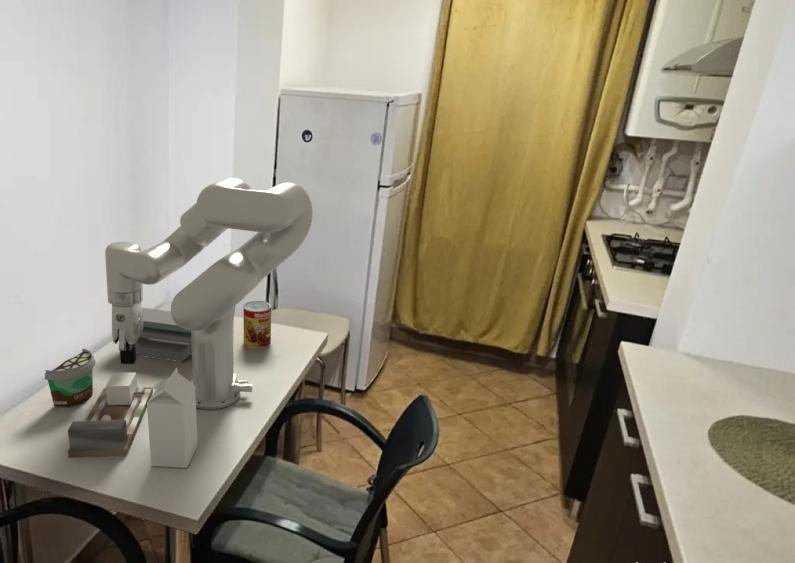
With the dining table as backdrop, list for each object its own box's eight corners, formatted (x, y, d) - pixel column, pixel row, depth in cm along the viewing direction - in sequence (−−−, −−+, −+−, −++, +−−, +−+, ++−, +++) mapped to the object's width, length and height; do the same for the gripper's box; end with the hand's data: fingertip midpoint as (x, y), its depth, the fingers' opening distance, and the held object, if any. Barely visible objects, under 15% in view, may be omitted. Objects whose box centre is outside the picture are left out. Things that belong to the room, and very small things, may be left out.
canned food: (261, 351, 162) (262, 313, 158) (238, 345, 164) (237, 307, 160) (275, 340, 169) (276, 304, 165) (252, 334, 171) (252, 298, 167)
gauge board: (104, 393, 135) (102, 369, 132) (153, 392, 137) (151, 369, 135) (68, 457, 113) (64, 430, 110) (127, 455, 115) (124, 428, 113)
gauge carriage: (115, 389, 133) (113, 371, 132) (148, 389, 135) (146, 371, 133) (107, 405, 127) (105, 386, 125) (141, 404, 129) (140, 385, 127)
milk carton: (197, 446, 119) (194, 368, 113) (186, 468, 113) (183, 387, 106) (163, 444, 119) (159, 366, 112) (151, 466, 112) (145, 384, 106)
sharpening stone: (216, 352, 159) (216, 317, 155) (205, 365, 151) (204, 328, 148) (132, 340, 160) (130, 306, 157) (117, 353, 153) (113, 316, 149)
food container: (72, 415, 126) (68, 376, 122) (49, 409, 127) (43, 371, 123) (110, 388, 137) (106, 351, 134) (88, 383, 138) (84, 347, 135)
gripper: (134, 307, 126) (137, 378, 132) (149, 283, 139) (151, 348, 146) (98, 306, 124) (102, 378, 130) (117, 281, 138) (120, 347, 144)
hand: (128, 362), depth 138 cm, fingers closed
